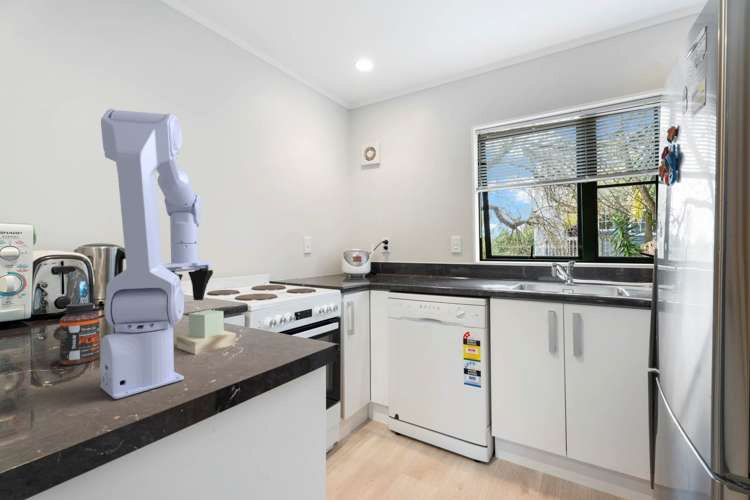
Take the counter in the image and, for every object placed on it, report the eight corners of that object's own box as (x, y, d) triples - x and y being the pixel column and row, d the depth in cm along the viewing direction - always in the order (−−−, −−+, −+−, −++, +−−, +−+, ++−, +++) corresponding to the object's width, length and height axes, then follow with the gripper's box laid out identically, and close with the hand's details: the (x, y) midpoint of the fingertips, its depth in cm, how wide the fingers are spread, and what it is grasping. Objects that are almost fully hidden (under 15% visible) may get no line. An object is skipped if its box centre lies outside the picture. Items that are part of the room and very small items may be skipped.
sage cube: (204, 338, 74) (204, 315, 74) (189, 336, 76) (188, 313, 76) (223, 333, 78) (223, 311, 78) (208, 331, 80) (207, 309, 80)
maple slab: (195, 356, 71) (195, 342, 71) (176, 349, 76) (176, 336, 76) (236, 346, 78) (236, 333, 78) (216, 340, 83) (216, 328, 83)
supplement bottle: (82, 366, 64) (80, 306, 64) (51, 366, 65) (49, 306, 65) (107, 356, 70) (106, 301, 70) (79, 356, 71) (77, 301, 71)
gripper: (173, 243, 71) (174, 308, 71) (221, 243, 85) (222, 298, 85) (146, 243, 73) (147, 307, 73) (197, 244, 87) (198, 297, 87)
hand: (186, 302), depth 79 cm, fingers open, 7 cm apart
